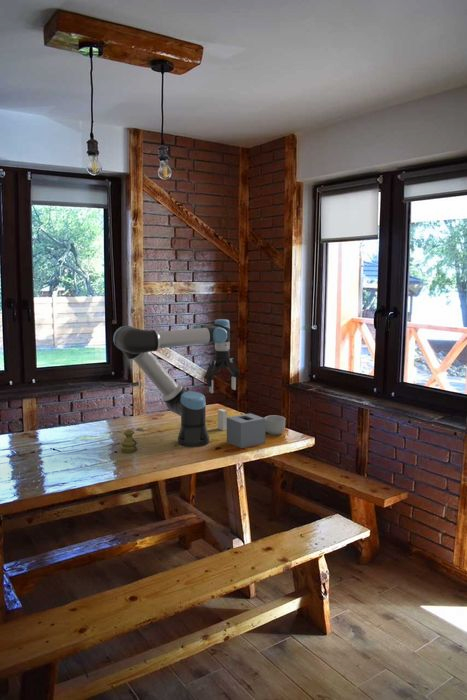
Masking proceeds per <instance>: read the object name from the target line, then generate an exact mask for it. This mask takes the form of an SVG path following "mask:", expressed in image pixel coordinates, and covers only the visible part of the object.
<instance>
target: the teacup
mask: <svg viewBox="0 0 467 700" xmlns="http://www.w3.org/2000/svg"><path fill="white" fill-rule="evenodd" d="M264 418H265V433H267V434H268V435H272V436H278V435H281V434H282V433H284V431H285V428H286V417H284V416H281V415H278V414H277V415H276V414H275V415H274V414H273V415H272V414H271V415H267V416H265V417H264Z"/></svg>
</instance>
